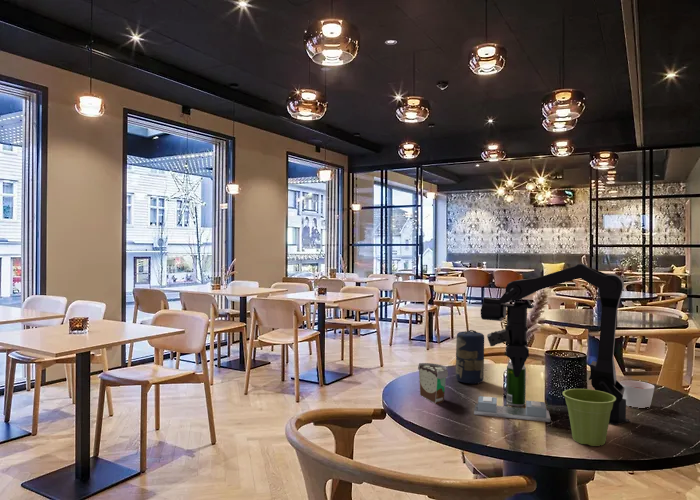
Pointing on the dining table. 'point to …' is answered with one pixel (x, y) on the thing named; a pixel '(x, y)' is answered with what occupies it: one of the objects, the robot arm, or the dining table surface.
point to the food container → (432, 381)
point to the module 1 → (487, 404)
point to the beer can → (516, 387)
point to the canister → (470, 357)
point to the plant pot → (589, 414)
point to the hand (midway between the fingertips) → (516, 374)
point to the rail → (512, 413)
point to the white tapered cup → (637, 393)
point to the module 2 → (535, 408)
